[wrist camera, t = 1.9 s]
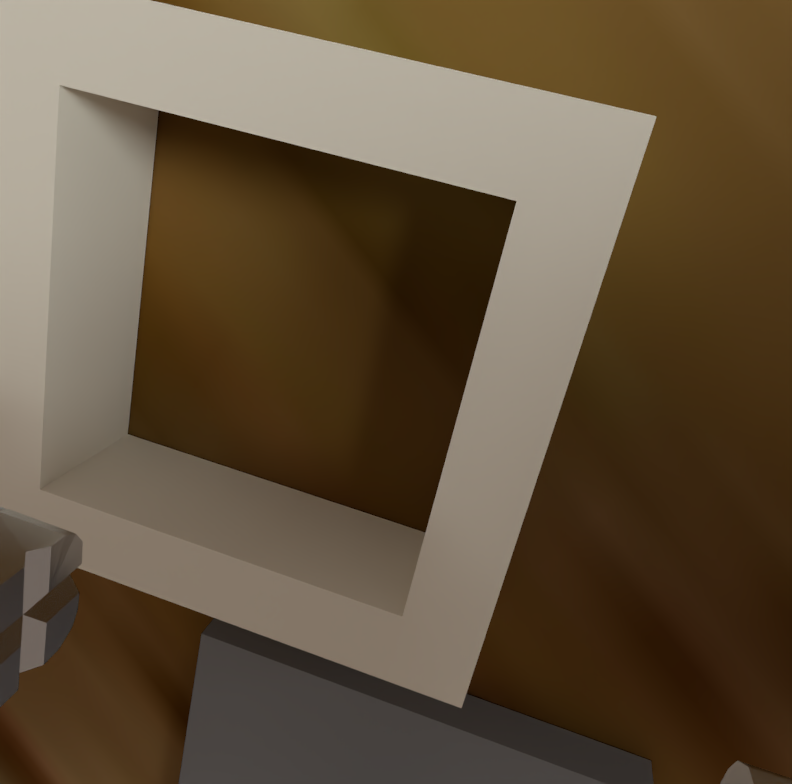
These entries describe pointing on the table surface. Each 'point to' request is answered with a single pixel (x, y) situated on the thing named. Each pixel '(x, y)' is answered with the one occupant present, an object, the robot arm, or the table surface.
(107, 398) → the link
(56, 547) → the robot arm
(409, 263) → the table surface
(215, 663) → the keeper plate
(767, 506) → the table surface
